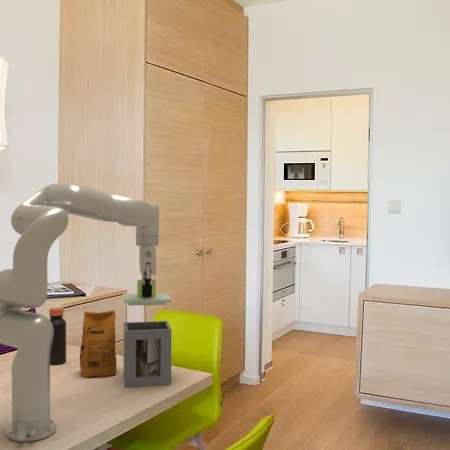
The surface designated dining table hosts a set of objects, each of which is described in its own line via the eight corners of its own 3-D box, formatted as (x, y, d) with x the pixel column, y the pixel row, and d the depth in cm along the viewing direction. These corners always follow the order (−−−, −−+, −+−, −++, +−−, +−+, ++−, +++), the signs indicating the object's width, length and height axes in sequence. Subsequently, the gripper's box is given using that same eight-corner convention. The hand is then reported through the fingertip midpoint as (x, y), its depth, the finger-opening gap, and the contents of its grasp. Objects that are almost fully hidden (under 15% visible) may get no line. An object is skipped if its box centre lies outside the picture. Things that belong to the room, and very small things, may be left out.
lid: (170, 305, 183) (171, 282, 183) (124, 306, 180) (124, 283, 179) (166, 298, 195) (167, 277, 194) (122, 299, 192) (123, 277, 191)
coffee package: (80, 369, 199) (79, 308, 198) (115, 367, 202) (115, 307, 201) (79, 379, 189) (79, 314, 188) (117, 376, 192) (117, 313, 191)
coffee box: (162, 380, 188) (163, 333, 187) (147, 385, 184) (147, 337, 183) (146, 374, 195) (146, 328, 194) (130, 378, 190) (131, 331, 189)
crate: (171, 384, 185) (171, 329, 184) (124, 387, 182) (125, 331, 181) (166, 372, 197) (167, 320, 196) (123, 375, 194) (123, 322, 192)
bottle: (47, 360, 209) (46, 307, 208) (65, 359, 211) (65, 306, 210) (46, 365, 203) (46, 311, 202) (66, 364, 205) (66, 310, 204)
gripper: (161, 242, 179) (160, 300, 180) (156, 238, 195) (155, 291, 196) (137, 242, 178) (136, 300, 178) (134, 238, 193) (133, 291, 194)
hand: (146, 295), depth 187 cm, fingers closed on lid, 3 cm apart
